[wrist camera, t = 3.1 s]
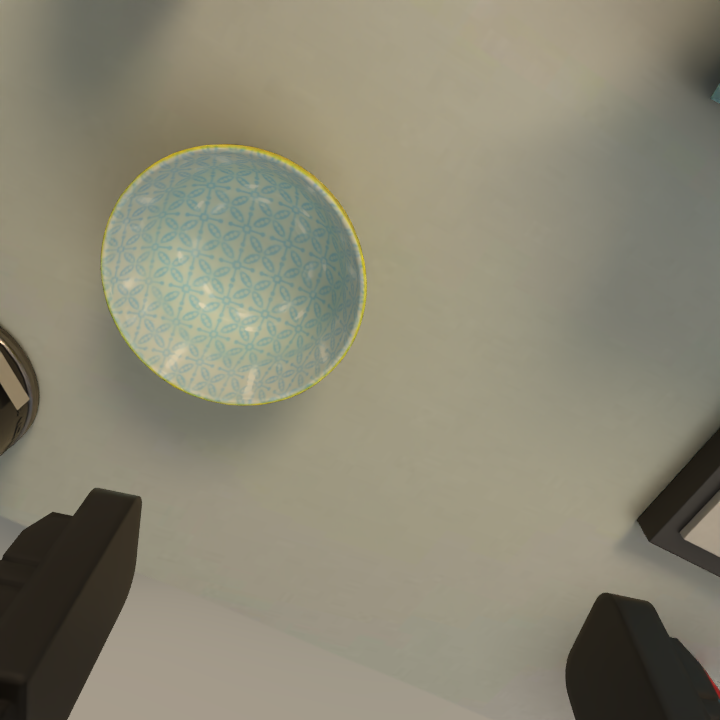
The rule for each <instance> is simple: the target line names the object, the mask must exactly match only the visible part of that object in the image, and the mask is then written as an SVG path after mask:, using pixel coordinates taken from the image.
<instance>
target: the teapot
mask: <svg viewBox="0 0 720 720" xmlns="http://www.w3.org/2000/svg"><path fill="white" fill-rule="evenodd" d="M710 99H712V100H714V101H716V102H717V103H719V104H720V84H719V85H718V87H717V88H716V90H715V91H714V93H713V95H712V96H711V98H710Z"/></svg>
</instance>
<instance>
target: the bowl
mask: <svg viewBox="0 0 720 720" xmlns="http://www.w3.org/2000/svg"><path fill="white" fill-rule="evenodd" d="M101 277H102V285H103V290H104V294H105V298H106V302H107V305H108V308H109V311H110V313H111V316H112V318H113V320H114V322H115V324H116V326H117V328H118V330H119V332H120V333H121V335H122V337H123V338H124V340H125V341H126V343H127V344H128V346H129V347H130V349H131V350H132V351H133V352H134V353H135V355H136V356H137V357H138V358H139V359H140V360H141V361H142V362H143V363H144V364H145V365H146V366H147V367H148V368H149V369H150V370H152V371H153V372H154V373H155V374H156V375H158V376H159V377H160V378H162V379H163V380H164V381H166V382H168V383H169V384H170V385H172V386H174V387H175V388H178V389H179V390H181V391H183V392H185V393H188V394H190V395H193V396H195V397H198V398H201V399H204V400H207V401H211V402H216V403H221V404H227V405H241V406H244V405H262V404H268V403H273V402H278V401H281V400H285V399H288V398H291V397H293V396H296V395H298V394H300V393H302V392H304V391H306V390H307V389H309V388H311V387H312V386H314V385H316V384H317V383H318V382H320V381H321V380H322V379H323V378H324V377H326V376H327V375H328V374H329V373H330V372H331V371H332V370H333V369H334V368H335V367H336V366H337V365H338V364H339V363H340V362H341V360H342V359H343V358H344V356H345V355H346V353H347V352H348V350H349V348H350V347H351V345H352V343H353V341H354V339H355V337H356V335H357V333H358V330H359V327H360V325H361V321H362V318H363V314H364V309H365V303H366V293H367V280H366V269H365V263H364V258H363V254H362V249H361V246H360V243H359V240H358V237H357V235H356V233H355V230H354V227H353V225H352V223H351V221H350V219H349V217H348V215H347V214H346V212H345V210H344V209H343V208H342V206H341V205H340V203H339V202H338V200H337V199H336V198H335V197H334V196H333V194H332V193H331V192H330V191H329V190H328V189H327V187H326V186H325V185H324V184H322V183H321V182H320V181H319V180H318V179H317V178H316V177H315V176H314V175H312V174H311V173H309V172H308V171H306V170H305V169H304V168H302V167H301V166H299V165H297V164H295V163H294V162H292V161H290V160H289V159H287V158H284V157H282V156H280V155H278V154H275V153H273V152H270V151H266V150H262V149H259V148H255V147H251V146H244V145H234V144H219V145H204V146H197V147H193V148H189V149H185V150H182V151H178V152H176V153H173V154H171V155H169V156H167V157H165V158H163V159H161V160H159V161H157V162H155V163H154V164H152V165H151V166H150V167H148V168H147V169H146V170H144V171H143V172H142V173H141V174H139V175H138V176H137V177H136V178H135V179H134V180H133V181H132V183H131V184H130V185H129V186H128V187H127V188H126V189H125V191H124V192H123V193H122V194H121V196H120V198H119V199H118V201H117V203H116V204H115V207H114V209H113V211H112V213H111V215H110V217H109V220H108V223H107V226H106V228H105V233H104V237H103V242H102V249H101Z"/></svg>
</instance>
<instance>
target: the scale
mask: <svg viewBox="0 0 720 720" xmlns="http://www.w3.org/2000/svg"><path fill="white" fill-rule="evenodd" d="M637 521H638V523H639V525H640V526H641V528H642V530H643V532H644V534H645V535H646V537H647V539H648V541H649V542H651V543H653V544H655V545H657V546H659V547H661V548H663V549H665V550H667V551H669V552H671V553H673V554H675V555H677V556H679V557H681V558H683V559H685V560H687V561H689V562H691V563H693V564H695V565H697V566H699V567H701V568H703V569H705V570H707V571H709V572H711V573H713V574H715V575H717V576H719V577H720V429H719V430H718V431H717V432H716V433H715V435H714V436H713V437H712V438H711V439H710V440H709V441H708V442H707V443H706V445H705V446H704V447H703V448H702V449H701V450H700V451H699V452H698V453H697V454H696V456H695V457H694V458H693V459H692V460H691V461H690V462H689V463H688V464H687V466H686V467H685V468H684V469H683V470H682V471H681V472H680V473H679V474H678V476H677V477H676V478H675V479H674V480H673V481H672V482H671V483H670V484H669V485H668V487H667V488H666V489H665V490H664V491H663V492H662V493H661V494H660V495H659V497H658V498H657V499H656V500H655V501H654V502H653V503H652V504H651V505H650V507H649V508H648V509H647V510H646V511H645V512H644V513H643V514H642V515H641V516H640V518H639V519H638V520H637Z"/></svg>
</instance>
